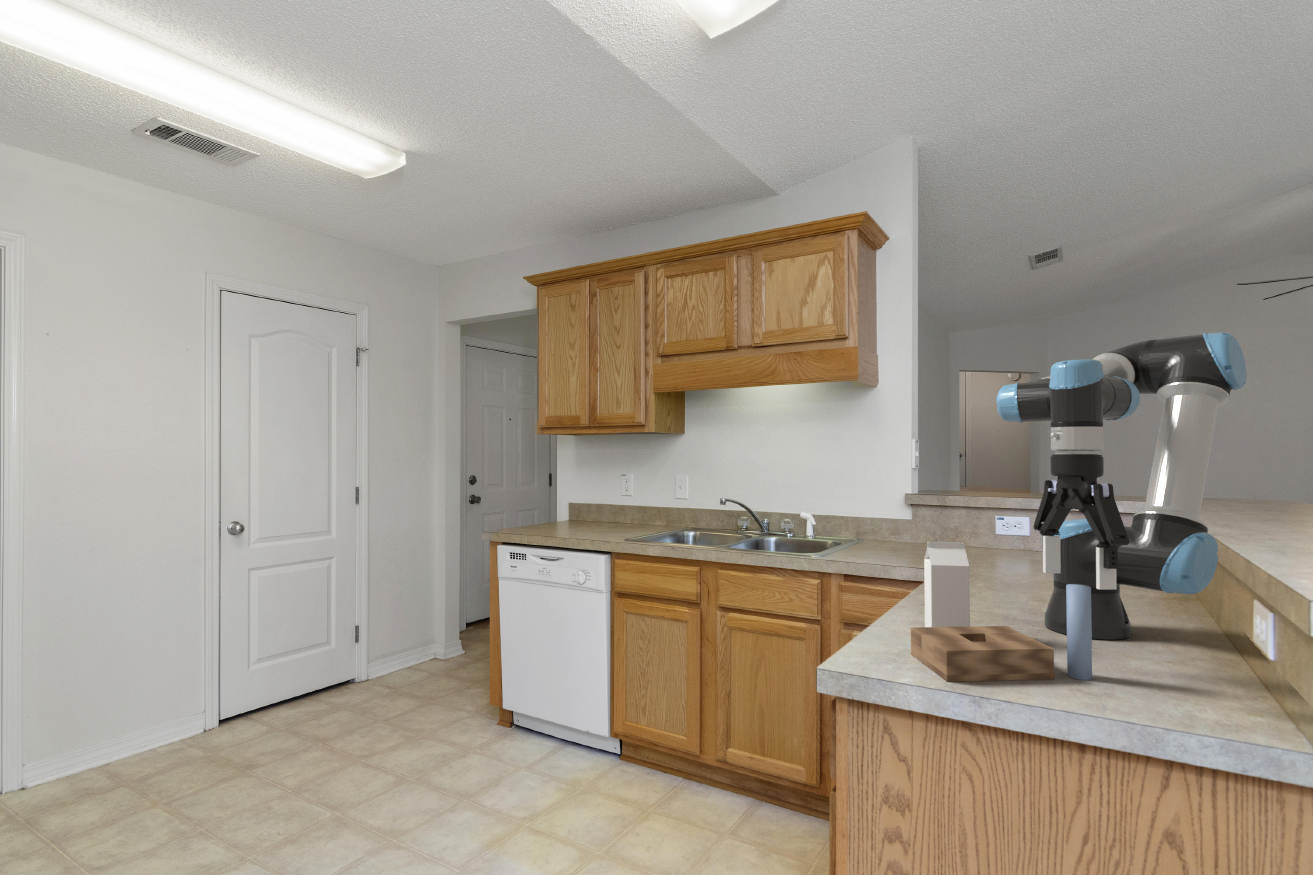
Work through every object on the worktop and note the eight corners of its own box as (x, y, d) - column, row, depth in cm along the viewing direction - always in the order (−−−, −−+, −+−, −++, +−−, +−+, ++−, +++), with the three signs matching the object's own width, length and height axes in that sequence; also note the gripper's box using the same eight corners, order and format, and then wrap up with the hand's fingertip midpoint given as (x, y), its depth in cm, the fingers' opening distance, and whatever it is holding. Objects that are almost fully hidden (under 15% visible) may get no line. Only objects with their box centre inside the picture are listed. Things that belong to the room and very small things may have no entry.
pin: (1082, 672, 113) (1081, 583, 114) (1097, 679, 110) (1096, 588, 110) (1062, 673, 113) (1061, 584, 113) (1076, 680, 110) (1075, 588, 110)
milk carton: (970, 642, 131) (969, 545, 131) (931, 640, 132) (930, 544, 133) (961, 632, 138) (960, 540, 138) (924, 630, 139) (923, 539, 140)
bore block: (1006, 652, 124) (1006, 625, 124) (1054, 679, 110) (1053, 648, 110) (911, 654, 124) (910, 627, 124) (946, 681, 110) (946, 650, 110)
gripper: (1012, 452, 124) (1012, 567, 124) (1107, 453, 99) (1108, 596, 99) (1051, 452, 125) (1052, 567, 124) (1156, 453, 100) (1158, 596, 99)
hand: (1077, 580), depth 112 cm, fingers open, 13 cm apart
